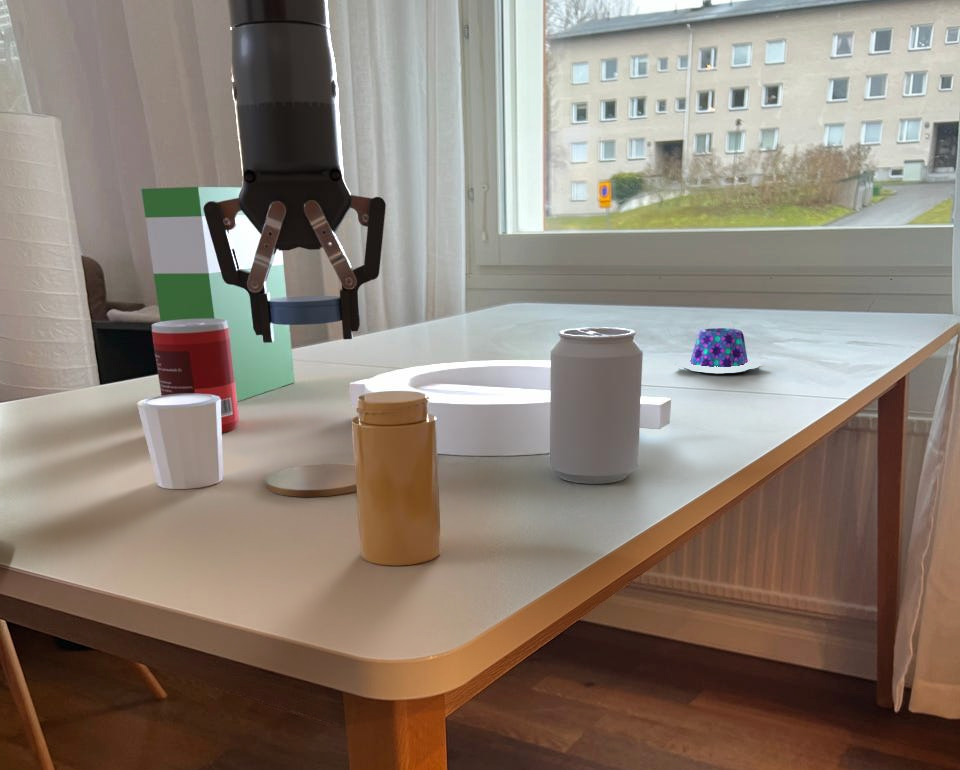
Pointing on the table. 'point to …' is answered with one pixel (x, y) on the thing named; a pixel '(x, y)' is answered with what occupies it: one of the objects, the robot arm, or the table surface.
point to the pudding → (719, 348)
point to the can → (595, 404)
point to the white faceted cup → (184, 439)
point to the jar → (396, 478)
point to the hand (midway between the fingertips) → (308, 339)
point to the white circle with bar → (490, 404)
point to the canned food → (197, 362)
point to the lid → (305, 310)
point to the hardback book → (215, 282)
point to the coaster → (313, 480)
